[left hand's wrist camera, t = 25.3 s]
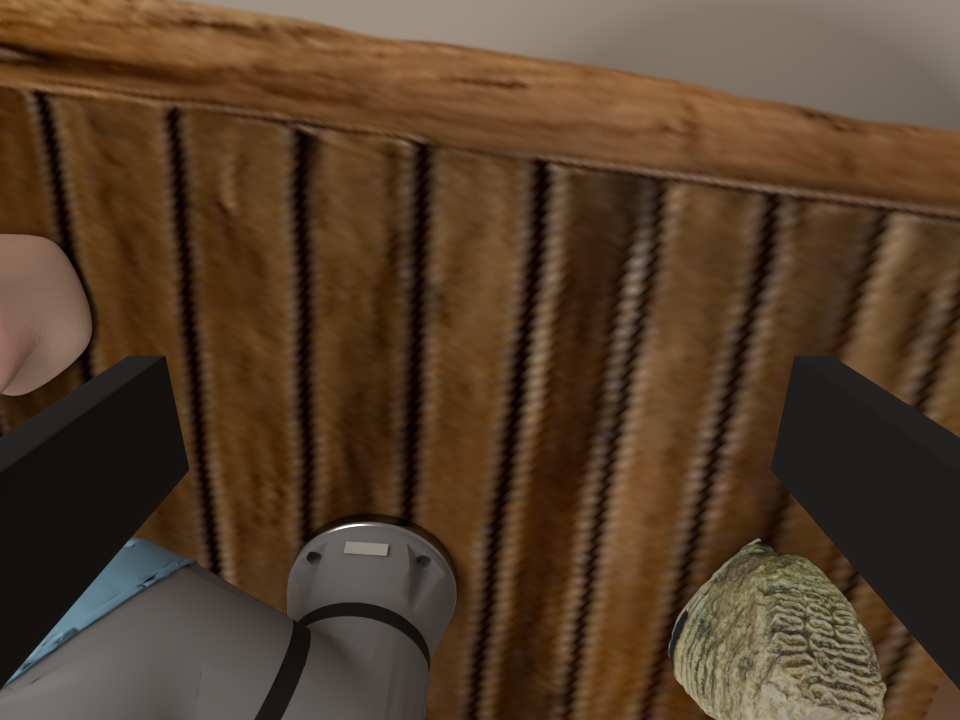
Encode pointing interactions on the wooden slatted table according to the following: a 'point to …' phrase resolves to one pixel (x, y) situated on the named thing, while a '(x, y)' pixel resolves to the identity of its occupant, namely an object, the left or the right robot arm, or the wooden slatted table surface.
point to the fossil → (775, 644)
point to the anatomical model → (38, 313)
